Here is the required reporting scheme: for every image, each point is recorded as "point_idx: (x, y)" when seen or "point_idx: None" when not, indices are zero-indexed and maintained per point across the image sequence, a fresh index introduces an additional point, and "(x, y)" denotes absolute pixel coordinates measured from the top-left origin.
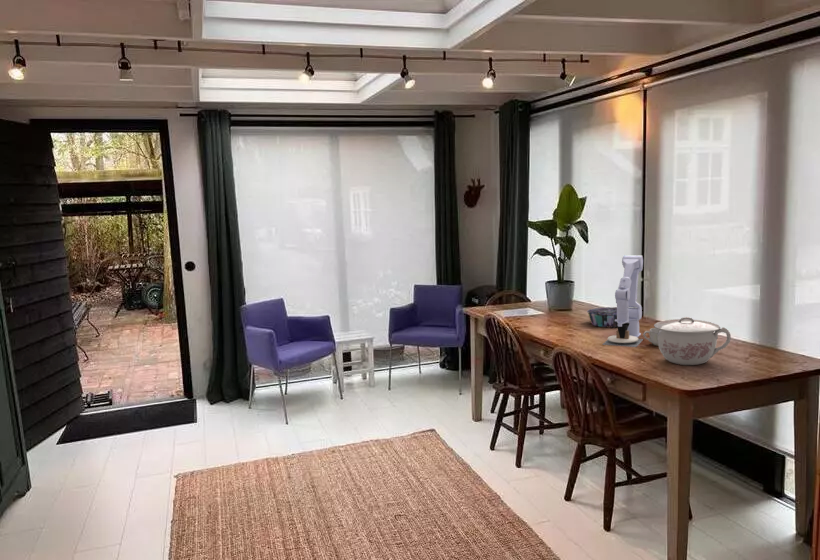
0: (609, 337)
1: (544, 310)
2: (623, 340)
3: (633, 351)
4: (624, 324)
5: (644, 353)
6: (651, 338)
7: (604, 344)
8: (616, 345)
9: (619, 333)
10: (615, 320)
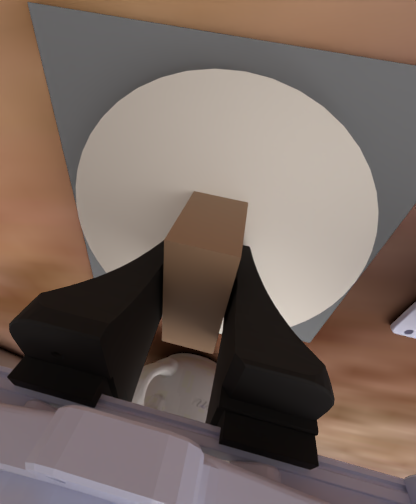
0: (222, 96)
1: None
2: (122, 247)
3: (17, 266)
4: (212, 408)
5: (17, 301)
6: (151, 382)
7: (43, 40)
8: (72, 178)
9: (147, 255)
10: (33, 456)
